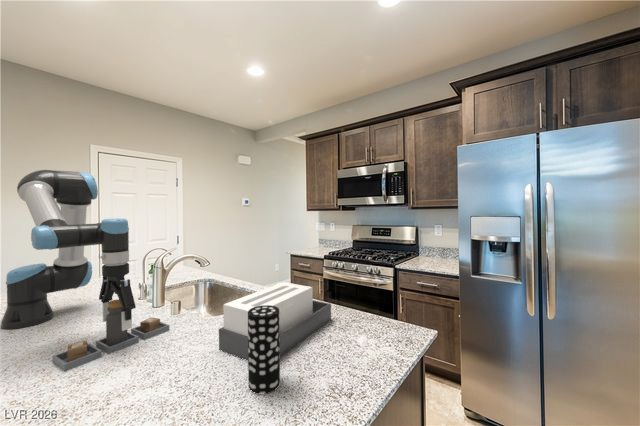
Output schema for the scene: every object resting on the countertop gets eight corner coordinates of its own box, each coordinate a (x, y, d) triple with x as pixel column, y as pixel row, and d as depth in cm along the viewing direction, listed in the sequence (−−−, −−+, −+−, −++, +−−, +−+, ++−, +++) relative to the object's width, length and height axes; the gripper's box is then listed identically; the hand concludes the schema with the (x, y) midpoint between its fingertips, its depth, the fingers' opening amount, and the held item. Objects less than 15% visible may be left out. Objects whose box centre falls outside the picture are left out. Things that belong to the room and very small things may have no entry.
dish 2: (95, 348, 95) (95, 341, 95) (125, 337, 103) (125, 330, 103) (108, 355, 91) (108, 348, 90) (139, 343, 98) (138, 336, 98)
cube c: (68, 359, 88) (68, 344, 88) (87, 354, 91) (86, 340, 90) (67, 365, 84) (67, 350, 84) (87, 360, 87) (86, 345, 87)
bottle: (116, 349, 94) (115, 305, 93) (102, 347, 95) (101, 303, 94) (131, 341, 99) (131, 299, 99) (117, 339, 100) (117, 297, 100)
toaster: (258, 363, 86) (258, 313, 86) (223, 349, 94) (223, 304, 94) (318, 322, 116) (318, 285, 116) (287, 314, 124) (287, 280, 124)
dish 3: (131, 335, 105) (130, 328, 105) (156, 326, 113) (155, 320, 113) (144, 341, 100) (144, 334, 100) (169, 331, 108) (169, 325, 108)
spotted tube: (251, 375, 80) (250, 305, 79) (280, 374, 80) (280, 304, 80) (246, 395, 71) (245, 317, 71) (279, 393, 72) (278, 316, 71)
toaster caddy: (219, 349, 94) (218, 329, 94) (290, 311, 128) (290, 295, 128) (266, 368, 83) (266, 344, 83) (331, 320, 118) (330, 303, 117)
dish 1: (52, 364, 86) (52, 356, 86) (89, 350, 94) (89, 343, 94) (64, 373, 81) (64, 364, 81) (102, 358, 89) (101, 350, 89)
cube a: (140, 334, 105) (140, 321, 105) (150, 328, 109) (150, 317, 109) (150, 335, 103) (149, 323, 103) (160, 330, 108) (159, 318, 108)
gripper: (86, 261, 99) (88, 320, 100) (121, 270, 87) (122, 337, 87) (111, 258, 106) (112, 313, 106) (146, 265, 93) (147, 328, 94)
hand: (116, 324), depth 97 cm, fingers open, 13 cm apart
